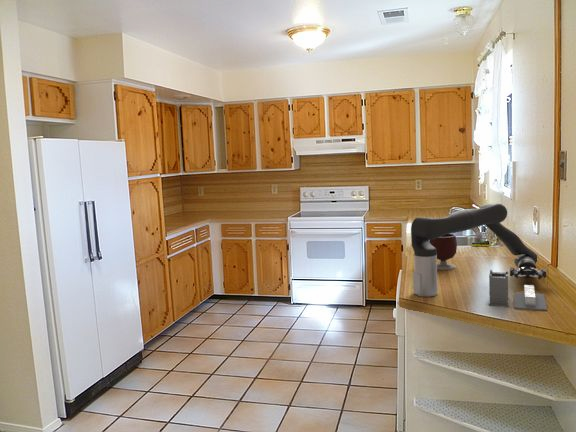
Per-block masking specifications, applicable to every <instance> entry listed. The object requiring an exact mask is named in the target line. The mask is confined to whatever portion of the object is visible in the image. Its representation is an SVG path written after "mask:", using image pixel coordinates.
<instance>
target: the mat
mask: <svg viewBox="0 0 576 432" xmlns="http://www.w3.org/2000/svg"><path fill="white" fill-rule="evenodd" d="M513 301H514V303H513V305H514V306H513V308H515V309H514V310H525V309H526V310H528V311H529V310H530V311H541V310H547V311H548V306H547V302H546V297H545V294H544V293H535V306H525V296H524V292H514V294H513Z"/></svg>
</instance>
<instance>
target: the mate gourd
mask: <svg viewBox="0 0 576 432" xmlns="http://www.w3.org/2000/svg"><path fill="white" fill-rule="evenodd" d="M429 242H430V244H431V245H432V246H434V247H435V248H436V251H437V260H439V261H440V262H439V263H437V270H443V271H444V270H445V271H446V270H447V271H449V270H454V269H456V267H457V266H456V264H453V263H448V262H447V261H448V260H450V259H452V258H454V257H455V255H456V254H457V248H458V241H457V237H456V233H450V234H446V235H444V236H441V237H439V238H436V239H433V240H429Z"/></svg>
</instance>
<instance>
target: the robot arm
mask: <svg viewBox="0 0 576 432" xmlns="http://www.w3.org/2000/svg"><path fill="white" fill-rule="evenodd" d="M507 217H508V208H506V206H505V205H503V204H502V203H500V202H499V203H498V202H496V203H495V202H494V203H487V204H483V205H481V206H480V207H478V208H468V209H461V210H456V211H453V212H451V213H449V214H448V215H447V216H446V217H441V218H440V217H439V218H432V217H423V216H422V217H421V216H418V217H416V218H414V219H413V221H412V222H411V225H410V235H411V247H412V249H413V256H414V259H413V260H414V271H413V272H412V280H413V281H412V284H413V285H412V287H413V288H412V289H413V294H414V295H417V296H418V297H426V298H427V297H436V296H438V294H439V292H438V269H437V264H438V263H437V261H438V259H437V251H436V248H435V247H434V246H432V245H431V244H430V242H429V241H430V240H433V239H436V238H439V237H441V236H444V235H446V234H456V233H460V232H464V231H465V232H466V231H469V230H472V229H475V228H478V227H482V226H484V225H485V226H486V227H487V228H488V229H489V230H490V231H491V232H492V233H493V234H494V235H496V236H497V237H498V238H499V239H500V241H501V242H502V243H503V244H504V246H505V247H506V248H507V250H509V252H510V253H511V255H513V256H516V257H515V258H514V260H513V261H514V265H515V266H516V268H514V267H513V266H512V267H509V276H510V277H514V278H516V279H519V278H520V277H522V278H525V279H531V278H538V280H541V279H543V278H547V270H546V268H541V269H538V268H537V264H536V262H537V256H538V255H537V253H536V252H535V251H533V250H532V249H531V248H529V247H527V245H525V244H524V242H523V241H522V239H521V238H520V237H519V235H517V234H516V233H515V232H513V231H512V230H511V229H509V228H508V227H506V226H504V225H503V224H502V222H504V221H505V220H506V218H507Z"/></svg>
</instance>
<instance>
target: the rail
mask: <svg viewBox="0 0 576 432" xmlns="http://www.w3.org/2000/svg"><path fill="white" fill-rule="evenodd" d="M523 287H524V288H523V289H524V290H523V293H524V296H525V306H535V294H536V293H535V291H536V290H535V285H534V284H524V285H523Z"/></svg>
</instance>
